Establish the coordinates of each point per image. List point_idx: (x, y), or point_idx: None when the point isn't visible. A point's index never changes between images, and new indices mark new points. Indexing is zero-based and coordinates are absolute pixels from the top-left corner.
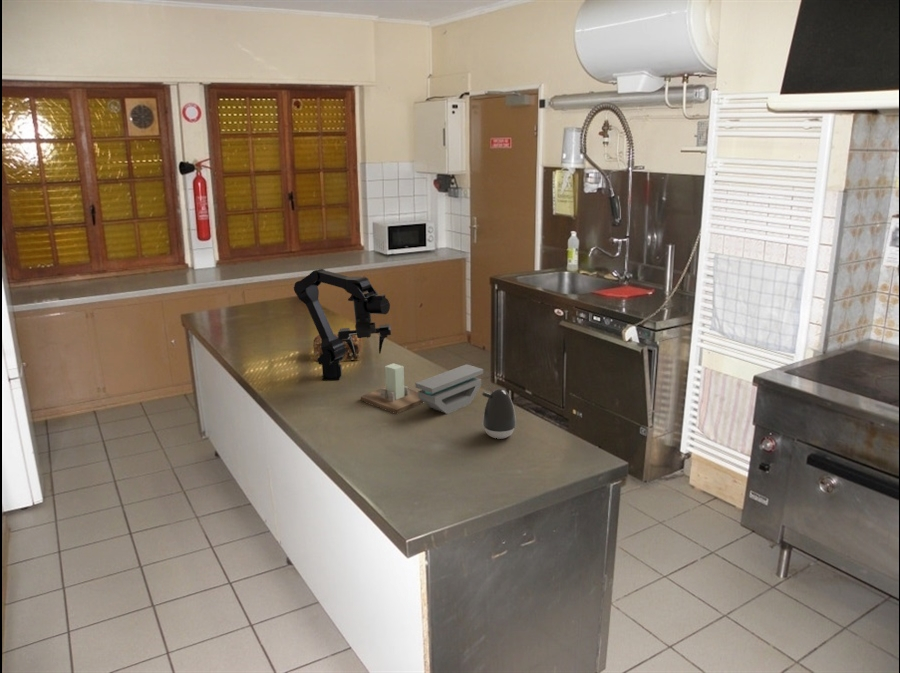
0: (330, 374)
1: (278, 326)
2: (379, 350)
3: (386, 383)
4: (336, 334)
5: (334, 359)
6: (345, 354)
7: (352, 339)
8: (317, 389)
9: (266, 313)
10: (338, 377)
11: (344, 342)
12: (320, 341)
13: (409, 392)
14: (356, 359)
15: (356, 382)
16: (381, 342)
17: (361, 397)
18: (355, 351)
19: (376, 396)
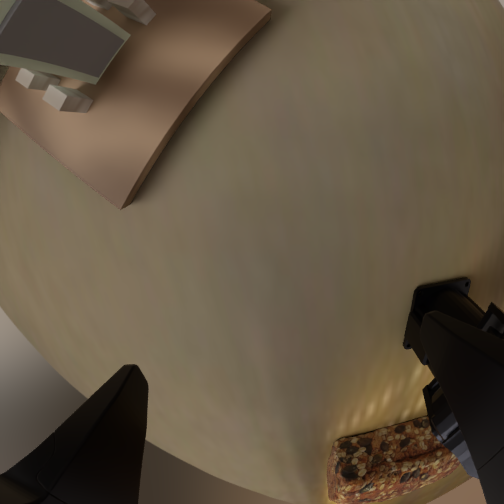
0: (455, 297)
1: (446, 476)
2: (115, 389)
3: (91, 8)
4: (404, 493)
5: (490, 330)
6: (378, 447)
7: (361, 494)
8: (482, 178)
9: (443, 488)
10: (418, 304)
11: (387, 479)
12: (454, 457)
13: (41, 111)
14: (341, 441)
15: (339, 267)
16: (36, 463)
17: (264, 7)
18: (348, 462)
19: (180, 18)
